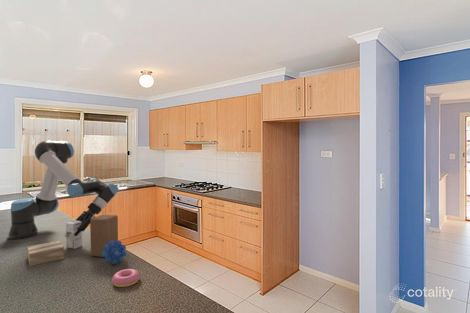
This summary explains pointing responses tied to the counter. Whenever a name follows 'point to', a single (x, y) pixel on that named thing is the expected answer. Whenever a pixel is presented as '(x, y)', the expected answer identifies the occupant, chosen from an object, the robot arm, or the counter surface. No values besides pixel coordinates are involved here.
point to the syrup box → (70, 229)
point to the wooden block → (103, 232)
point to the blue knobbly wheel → (114, 252)
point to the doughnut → (125, 278)
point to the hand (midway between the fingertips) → (67, 238)
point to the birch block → (45, 252)
